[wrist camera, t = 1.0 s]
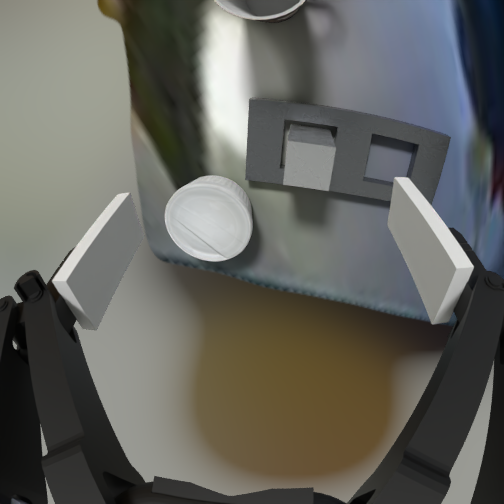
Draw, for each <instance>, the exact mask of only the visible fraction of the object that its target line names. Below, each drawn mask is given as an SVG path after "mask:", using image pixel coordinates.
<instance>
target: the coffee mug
mask: <svg viewBox="0 0 504 504" xmlns="http://www.w3.org/2000/svg"><path fill="white" fill-rule="evenodd" d="M214 1H215V2H216V3H217V4H218V6H220V7H221V8H222V9H224V10H225V11H227V12H229V13H231V14H233V15H235V16H238V17H241V18H245V19H251V20H257V21H263V22H269V23H276V22H281V21H284V20H287V19H289V18H291V17H292V16H293V15H294V14H295V13H296V12H297V11H298V10H299V8H300V7H301V6H302V4H303V3H304V2H305V1H306V0H214Z"/></svg>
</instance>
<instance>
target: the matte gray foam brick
mask: <svg viewBox="0 0 504 504" xmlns="http://www.w3.org/2000/svg"><path fill="white" fill-rule="evenodd" d="M335 151H336V146H335V143H334V140H333V138H332V135H331V132H330V129H325V128H319V127H312V126H305V125H297V124H291V127H290V131H289V136H288V141H287V151H286V161H285V171H284V180H283V185H289V186H297V187H304V188H311V189H318V190H325V191H329V186H330V181H331V175H332V169H333V163H334V157H335Z"/></svg>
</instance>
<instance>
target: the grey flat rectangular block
mask: <svg viewBox="0 0 504 504" xmlns="http://www.w3.org/2000/svg"><path fill="white" fill-rule="evenodd" d="M285 119H286V120H294V121H302V122H309V123H316V124H323V125H329V126H336V133H335V139H334V143H335V146H336V151H335V157H334V163H333V169H332V175H331V181H330V186H329V191H333V192H340V193H346V194H352V195H358V196H364V197H369V198H375V199H380V200H385V201H391V198H392V191H393V182H388V181H383V180H378V179H372V178H367V177H364V173H365V168H366V163H367V158H368V153H369V148H370V143H371V138H372V133H373V134H377V135H382V136H386V137H391V138H395V139H399V140H403V141H407V142H411V143H415V144H414V149H413V153H412V157H411V161H410V165H409V169H408V173H407V177H406V178H409V179H410V180H411V182H412V183H413V184H414V185H415V186H416V188H417V189H418V190H419V191H420V192H421V194H422V195H423V196H424V197H425V199H426V200H427V201H428V202H429V204H430V205H431V204H432V201H433V198H434V195H435V192H436V189H437V186H438V182H439V179H440V176H441V172H442V169H443V165H444V162H445V158H446V154H447V150H448V146H449V142H450V138H451V137H449V136H448V135H446V134H443V133H440V132H437V131H434V130H431V129H427V128H424V127H420V126H417V125H413V124H409V123H406V122H402V121H398V120H394V119H390V118H385V117H381V116H377V115H372V114H367V113H362V112H357V111H352V110H347V109H341V108H336V107H330V106H323V105H317V104H309V103H302V102H294V101H285V100H275V99H264V98H250V99H249V117H248V137H247V157H246V178H245V180H251V181H259V182H268V183H276V184H283V180H284V171H285V165H283V164H281V156H282V146H283V135H284V124H285Z"/></svg>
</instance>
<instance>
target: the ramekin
mask: <svg viewBox="0 0 504 504" xmlns="http://www.w3.org/2000/svg"><path fill="white" fill-rule="evenodd" d="M165 224H166V228H167V230H168V233H169V235H170V236H171V238H172V239H173V241H174V242H175V243H176V244H177V245H178V246H179V247H180V248H181V249H182V250H183V251H185V252H186V253H188V254H189V255H191V256H193V257H195V258H198V259H201V260H205V261H214V262H218V261H224V260H228V259H231V258H233V257H235V256H237V255H238V254H240V253H241V252H242V251H243V250H244V249H245V247H246V246H247V244H248V243H249V240H250V238H251V235H252V230H253V220H252V210H251V203H250V201H249V198H248V196H247V194H246V193H245V192H244V190H243V189H242V188H241V187H240V186H239V185H238V184H237V183H235V182H234V181H232V180H230V179H228V178H225V177H221V176H215V175H213V176H204V177H200V178H198V179H196V180H194V181H193V182H191V183H190V184H187V185H185V186H183V187H182V188H180V189H179V190H177V191H176V192H175V193H174V195H173V196H172V197H171V199H170V200H169V202H168V204H167V206H166V210H165Z"/></svg>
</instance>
